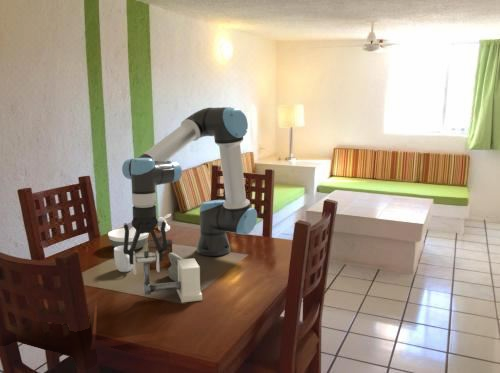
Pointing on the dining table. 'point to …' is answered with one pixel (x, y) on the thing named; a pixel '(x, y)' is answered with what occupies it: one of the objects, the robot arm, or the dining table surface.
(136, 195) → the robot arm
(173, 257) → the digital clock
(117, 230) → the bowl
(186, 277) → the white upright block
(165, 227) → the rabbit figurine
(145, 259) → the l-shaped grey rod
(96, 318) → the dining table surface
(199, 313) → the dining table surface
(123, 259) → the mug
